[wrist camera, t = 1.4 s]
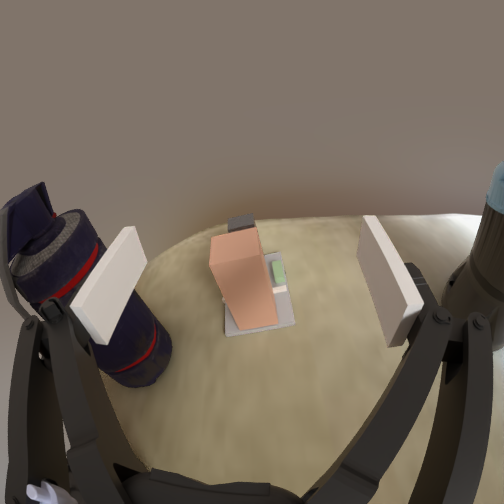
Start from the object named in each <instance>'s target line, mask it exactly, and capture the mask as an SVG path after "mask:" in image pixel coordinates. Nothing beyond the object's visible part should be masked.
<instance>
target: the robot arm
mask: <svg viewBox="0 0 504 504" xmlns="http://www.w3.org/2000/svg"><path fill="white" fill-rule="evenodd" d="M357 258H358V261H359V264H360V266H361V269H362V271H363V274H364V277H365V279H366V282H367V285H368V288H369V291H370V293H371V296H372V299H373V302H374V305H375V308H376V311H377V314H378V317H379V320H380V323H381V327H382V330H383V333H384V336H385V340H386V343H387V347H388V348H389V347H395V346H402V345H403V344H404V342H405V340H406V338H407V339H408V342H409V346H408V348H407V350H406V351H405V353H404V355H403V356H402V360H401V362H400V364H399V366H398V368H397V370H396V371H395V373H394V375H393V377H392V379H391V380H390V382H389V384H388V386H387V387H386V389H385V391H384V393H383V394H382V396H381V398H380V399H379V401H378V402H377V404H376V406H375V407H374V409H373V410H372V412H371V413H370V415H369V416H368V418H367V419H366V421H365V422H364V424H363V425H362V427H361V428H360V429H359V431H358V432H357V434H356V435H355V436H354V438H353V439H352V441H351V442H350V443H349V445H348V446H347V447H346V448H345V450H344V451H343V452H342V454H341V455H340V456H339V457H338V459H337V460H336V461H335V462H334V463H333V465H332V466H331V467H330V468H329V469H328V470H327V471H326V473H325V474H324V475H323V476H322V477H321V478H320V479H319V480H318V481H317V482H316V483H315V484H314V485H313V486H312V487H311V488H310V489H309V490H308V491H307V492H306V493H305V494H304V495H303V496H302V497H301V498H299V497H298V496H297V495H295V494H294V493H292V492H290V491H288V490H286V489H283V488H280V487H277V486H273V485H271V484H270V483H253V482H234V483H226V484H218V485H208V484H205V483H203V482H200V481H198V480H195V479H192V478H189V477H186V476H183V475H180V474H177V473H172V472H167V471H163V470H159V469H154V468H152V469H151V472H148V471H147V469H146V467H145V466H144V465H143V463H142V462H141V461H140V460H139V459H138V458H137V457H136V456H135V455H134V453H133V451H132V449H131V447H130V445H129V443H128V441H127V439H126V437H125V435H124V433H123V431H122V429H121V426H120V424H119V422H118V420H117V417H116V415H115V412H114V410H113V408H112V405H111V403H110V400H109V398H108V395H107V392H106V390H105V387H104V384H103V381H102V378H101V375H100V372H99V369H98V366H97V363H96V360H95V357H94V353H93V350H92V346H91V344H90V343H89V339H90V337H92V338H93V340H94V341H95V342H96V343H98V344H103V345H108V343H109V340H110V338H111V336H112V334H113V331H114V329H115V327H116V325H117V323H118V320H119V318H120V316H121V314H122V312H123V310H124V308H125V306H126V304H127V301H128V299H129V297H130V295H131V293H132V291H133V289H134V287H135V285H136V283H137V281H138V280H139V278H140V276H141V274H142V272H143V270H144V268H145V266H146V264H147V260H146V257H145V254H144V251H143V249H142V246H141V243H140V240H139V237H138V234H137V231H136V229H135V226H130V227H124V228H123V230H122V231H121V232H120V233H119V235H118V236H117V237H116V239H115V240H114V241H113V243H112V244H111V245H110V247H109V248H108V249H107V251H106V252H105V254H104V255H103V256H102V258H101V259H100V261H99V262H98V263H97V265H96V266H95V268H94V269H93V271H92V272H90V273H89V274H88V275H86V276H85V277H84V278H83V280H82V281H81V283H80V284H79V286H78V287H77V289H76V292H74V293H73V295H72V297H71V298H70V300H69V301H68V303H67V305H66V306H65V308H64V307H63V305H62V304H61V302H60V301H59V299H58V298H57V297H51V298H48V299H47V300H45V301H44V302H43V303H42V305H41V306H40V308H39V313H40V314H41V316H42V317H43V318H44V320H45V321H40V320H39V319H38V317H37V316H35V315H32V316H30V317H28V318H27V319H25V321H24V322H23V324H22V327H21V330H20V335H19V339H18V344H17V349H16V354H15V359H14V365H13V372H12V379H11V388H10V398H9V412H8V413H9V414H8V454H9V464H8V471H7V479H6V489H5V503H6V504H78V503H77V501H76V500H75V499H74V498H73V497H71V496H70V483H69V473H68V466H67V460H68V463H69V466H70V469H71V471H72V474H73V476H74V479H75V481H76V484H77V486H78V488H79V491H80V493H81V495H82V497H83V499H84V502H85V504H367V503H368V502H369V501H370V500H371V498H372V497H373V496H374V494H375V493H376V491H377V489H378V486H379V481H380V479H381V478H382V476H383V474H384V473H385V472H386V470H387V469H388V467H389V466H390V464H391V463H392V461H393V459H394V458H395V456H396V455H397V453H398V451H399V450H400V448H401V446H402V445H403V443H404V441H405V440H406V438H407V436H408V434H409V432H410V430H411V429H412V427H413V425H414V423H415V421H416V419H417V417H418V415H419V413H420V411H421V409H422V407H423V405H424V403H425V400H426V398H427V396H428V394H429V391H430V389H431V387H432V384H433V382H434V379H435V377H436V374H437V372H438V369H439V366H440V364H441V361H442V362H443V365H442V375H441V383H440V390H439V396H438V402H437V408H436V413H435V418H434V423H433V427H432V431H431V435H430V439H429V443H428V447H427V451H426V454H425V457H424V461H423V464H422V467H421V470H420V473H419V476H418V479H417V482H416V484H415V487H414V490H413V492H412V495H411V497H410V500H409V503H408V504H473V502H474V499H475V496H476V493H477V489H478V486H479V482H480V478H481V474H482V470H483V466H484V461H485V456H486V451H487V445H488V439H489V432H490V424H491V414H492V400H493V353H492V352H493V351H496V350H499V349H501V348H502V347H504V161H502V162H501V163H499V164H498V165H497V167H496V168H495V170H494V173H493V177H492V181H491V185H490V188H489V190H488V192H487V194H486V204H485V208H484V212H483V216H482V219H481V223H480V226H479V229H478V232H477V235H476V238H475V241H474V244H473V247H472V250H471V253H470V255H469V256H468V257H467V258H466V259H465V260H464V262H463V263H462V264H461V265H460V266H459V267H458V268H457V269H456V270H455V271H454V272H453V274H452V275H451V277H450V278H449V280H448V282H447V285H446V287H445V289H444V292H443V296H442V307H441V306H439V305H438V303H437V302H436V300H435V298H434V296H433V294H432V292H431V290H430V288H429V286H428V284H427V283H426V281H425V279H424V278H423V275H422V274H421V272H420V270H419V269H418V268H417V267H416V266H415V265H414V264H413V263H403V261H402V259H401V257H400V256H399V254H398V252H397V250H396V249H395V247H394V245H393V244H392V242H391V240H390V238H389V237H388V235H387V233H386V232H385V230H384V229H383V227H382V225H381V224H380V222H379V221H378V219H377V217H376V216H363V218H362V225H361V231H360V238H359V244H358V250H357ZM39 353H40V354H41V355H42V358H41V359H40V358H39ZM63 422H64V425H65V428H66V432H67V435H68V438H69V442H70V445H71V448H70V449H69V450H68V451H67V454H66V452H65V444H64V433H63ZM66 456H67V459H66Z"/></svg>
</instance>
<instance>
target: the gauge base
mask: <svg viewBox="0 0 504 504" xmlns="http://www.w3.org/2000/svg"><path fill="white" fill-rule="evenodd" d="M264 258H265V262H266V266H267V270H268V273H269V277H270V281H271V285H272V288H274V287H279V286H284V285H286V288H287V291H284V292H279V293H274V296H275V303H276V309H277V316H278V323H279V324H275V325H269V326H264V327H258V328H253V329H247V330H241V331H240V330H239V328H238V326H237V324H236V322H235V320H234V318H233V316H232V313H231V311H230V309H229V307H228V305H227V303H225V335H226V336H227V337H230V336H236V335H242V334H248V333H254V332H260V331H266V330H271V329H276V328H282V327H287V326H292V325H295V320H294V314H293V309H292V304H291V299H290V295H289V290H288V285H287V280H286V275H285V270H284V266H283V261H282V256H281V252H276V253H272V254H267V255H264Z"/></svg>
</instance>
